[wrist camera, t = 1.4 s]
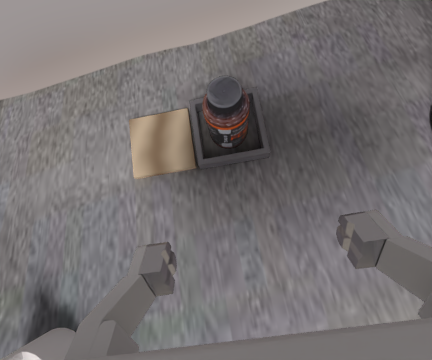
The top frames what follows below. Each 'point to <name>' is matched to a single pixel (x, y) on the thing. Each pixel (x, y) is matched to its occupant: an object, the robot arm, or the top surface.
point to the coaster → (162, 144)
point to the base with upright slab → (45, 346)
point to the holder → (237, 157)
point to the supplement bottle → (226, 111)
